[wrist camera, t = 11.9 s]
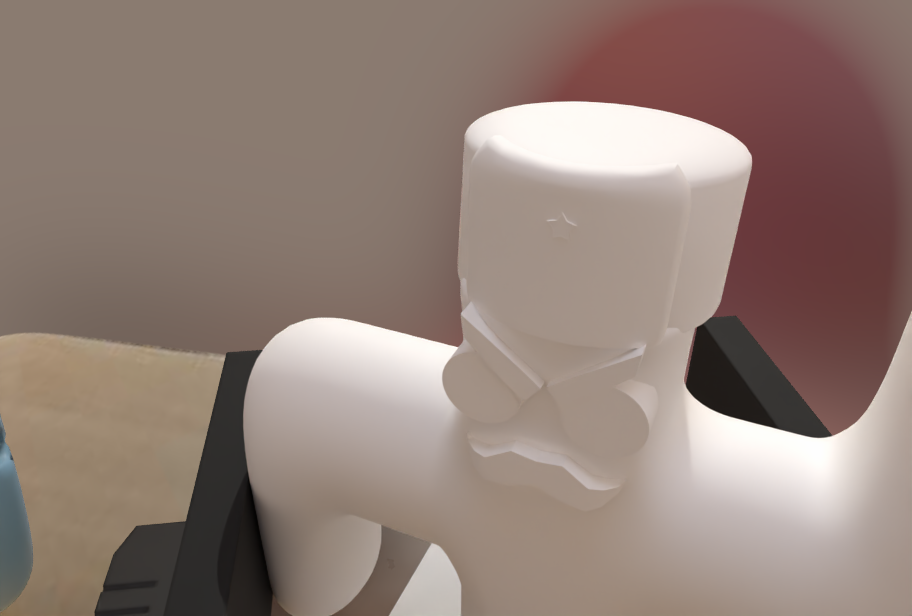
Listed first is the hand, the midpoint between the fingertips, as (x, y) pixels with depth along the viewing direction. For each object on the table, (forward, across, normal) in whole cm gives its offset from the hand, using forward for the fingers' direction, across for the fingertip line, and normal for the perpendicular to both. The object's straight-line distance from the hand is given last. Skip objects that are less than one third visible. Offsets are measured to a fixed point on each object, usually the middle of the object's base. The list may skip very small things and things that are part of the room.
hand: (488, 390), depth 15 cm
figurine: (-5, 0, -8) cm, 9 cm away
